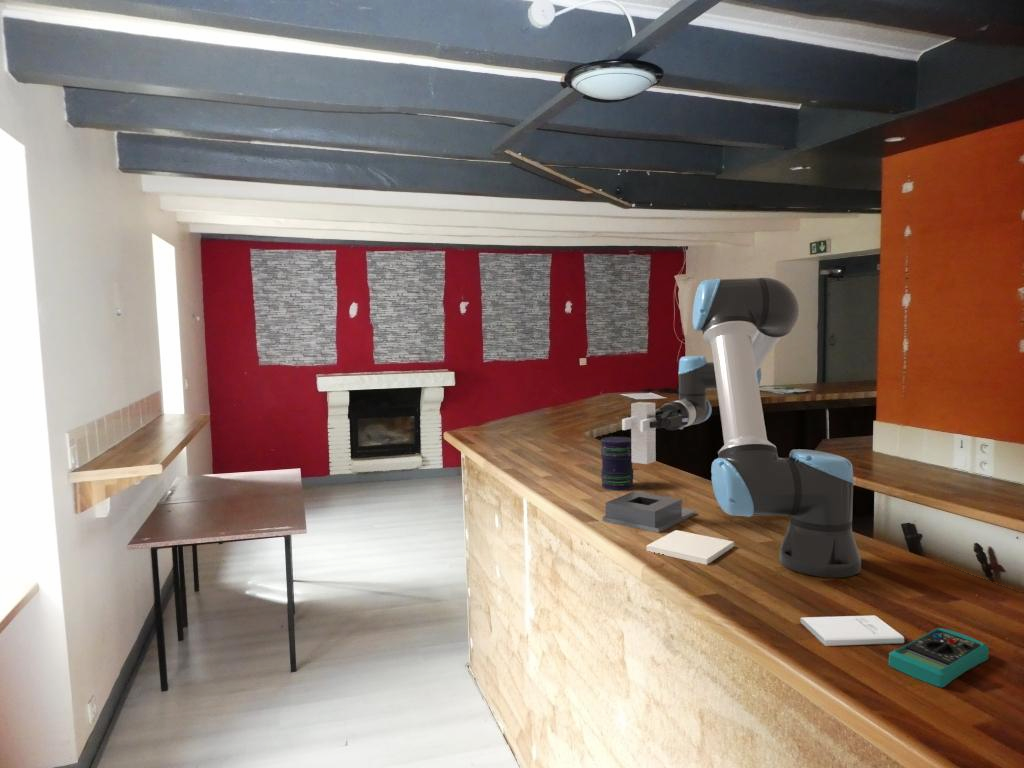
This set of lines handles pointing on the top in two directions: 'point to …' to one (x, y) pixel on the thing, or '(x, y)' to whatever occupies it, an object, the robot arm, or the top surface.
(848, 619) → the external hard drive
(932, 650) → the digital multimeter
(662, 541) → the cream pad
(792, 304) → the robot arm
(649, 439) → the aluminium plug
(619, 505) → the socket block
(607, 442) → the storage jar
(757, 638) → the top surface
